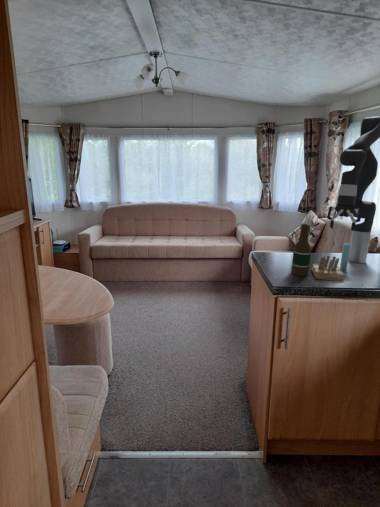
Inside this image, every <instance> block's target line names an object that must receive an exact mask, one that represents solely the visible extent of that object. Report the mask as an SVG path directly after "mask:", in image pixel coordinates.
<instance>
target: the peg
mask: <svg viewBox="0 0 380 507" xmlns="http://www.w3.org/2000/svg"><path fill="white" fill-rule="evenodd" d="M350 246H351V244H350V243H343V245H342V251H341V257H340V258H341V259H340V264H339V268H340V270H341V271H342V272H343V274H345V273H347V270H348V265H349V261H348V259H349V252H350Z"/></svg>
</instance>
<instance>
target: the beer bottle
mask: <svg viewBox="0 0 380 507" xmlns="http://www.w3.org/2000/svg"><path fill="white" fill-rule="evenodd" d="M309 228H310V224H307V223H302V224H301V225H300V232H299V238H298V240H297V241H296V243H295V245H294V247H293V252H292V262H291V274H293V275H294V276H298V277H306V276H308V274H309V271H310V270H309V269H310V260H311V253H312V248H311V245H310V243H309Z"/></svg>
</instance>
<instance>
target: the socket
mask: <svg viewBox="0 0 380 507" xmlns="http://www.w3.org/2000/svg"><path fill="white" fill-rule="evenodd" d="M330 257H331V255H327V256H326V255H322V256H321V257H320V260H319V264H317V263H316V264H315V263H312V265H311V266H312V268H311V271H312V274H313V276H314V278H315V279H319V280H329V281H338V282H344V279H345V273H343V272H342V271H341V270H340V266H338V265H339V262H340V257H336V256H335V255H334V256H333V257H332V259H330Z"/></svg>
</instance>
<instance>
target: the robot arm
mask: <svg viewBox="0 0 380 507" xmlns="http://www.w3.org/2000/svg"><path fill="white" fill-rule="evenodd" d="M359 133H360V134H359V137H357V139H356V140H354V143H353V144H351V145H350V146H348V147H347V148H345V149H344V150H343V151H342V152H341V154H340V155H339V162H340V164H341V165H342V166H344V167H353V169H351V170H347V171H343V172H342V174H341V179H340V185H339V190H338V195H337V201H336V206H332V205H330V206H329V207H328V211H327V215H326V219H327V220H329V221H330V223H329V227H330V228H331V229H332V230H334V224H335V220H336V219H337V218H338V217H344V218H350V220H351V221H352V223H351V225H350V231H351V236H350V242H349V244H351V246H350V252H349V259H348V262H351V263H355V264H365V263H366V262H367V257H368V251H369V246H370V238H371V234H372V229H373V225H374V221H375V220H374V219H375V215H376V211H377V205H376V203H375V202H374V201H369V200H368V201H367V200H363V198H364V194H365V193H366V191H367V189H368V188H369V187H370V185H371V184H373V182H374V180H375V179H376V177H377V174H378V167H379V165H378V164H379V163H378V160H377V157H376V156H375V154H374V153H373V150H372V149H371V146H372V145H373V144H375V143H376V142H377V141H378V140H379V139H380V116H379V115H378V116H368V117H364V118H362V121H361V125H360V131H359ZM334 210H335V214H334V215H333V216H331V214H332V212H334ZM355 218H356V219H355ZM362 219H364V220H363V221H362V222H361V220H362ZM360 222H361V223H360Z"/></svg>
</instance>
